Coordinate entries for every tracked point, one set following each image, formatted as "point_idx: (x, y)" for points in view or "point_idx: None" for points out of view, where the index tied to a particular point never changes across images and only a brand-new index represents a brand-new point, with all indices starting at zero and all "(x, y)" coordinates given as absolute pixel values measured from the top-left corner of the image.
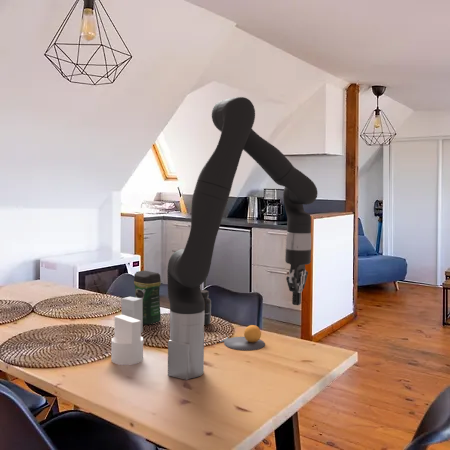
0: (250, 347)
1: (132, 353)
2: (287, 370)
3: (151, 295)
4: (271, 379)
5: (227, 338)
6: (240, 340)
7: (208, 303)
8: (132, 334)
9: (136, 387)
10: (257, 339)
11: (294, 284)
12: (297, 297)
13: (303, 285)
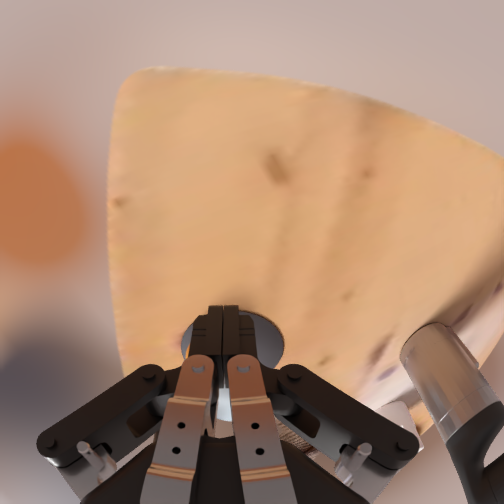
0: (256, 330)
1: (407, 412)
2: (370, 194)
3: None
4: (426, 211)
5: (224, 384)
6: None
7: None
8: (417, 433)
9: None
10: None
11: (371, 414)
12: (252, 341)
13: (154, 387)
